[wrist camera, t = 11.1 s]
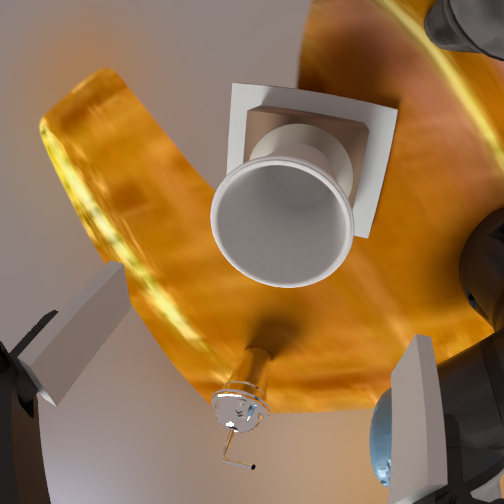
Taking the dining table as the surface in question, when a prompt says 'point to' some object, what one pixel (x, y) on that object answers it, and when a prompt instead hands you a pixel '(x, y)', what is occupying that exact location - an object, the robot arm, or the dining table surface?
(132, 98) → the dining table surface
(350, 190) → the brown block
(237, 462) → the cup with straw
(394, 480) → the robot arm
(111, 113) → the dining table surface
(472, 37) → the beverage cup
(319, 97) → the board
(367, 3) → the dining table surface
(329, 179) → the dixie cup
